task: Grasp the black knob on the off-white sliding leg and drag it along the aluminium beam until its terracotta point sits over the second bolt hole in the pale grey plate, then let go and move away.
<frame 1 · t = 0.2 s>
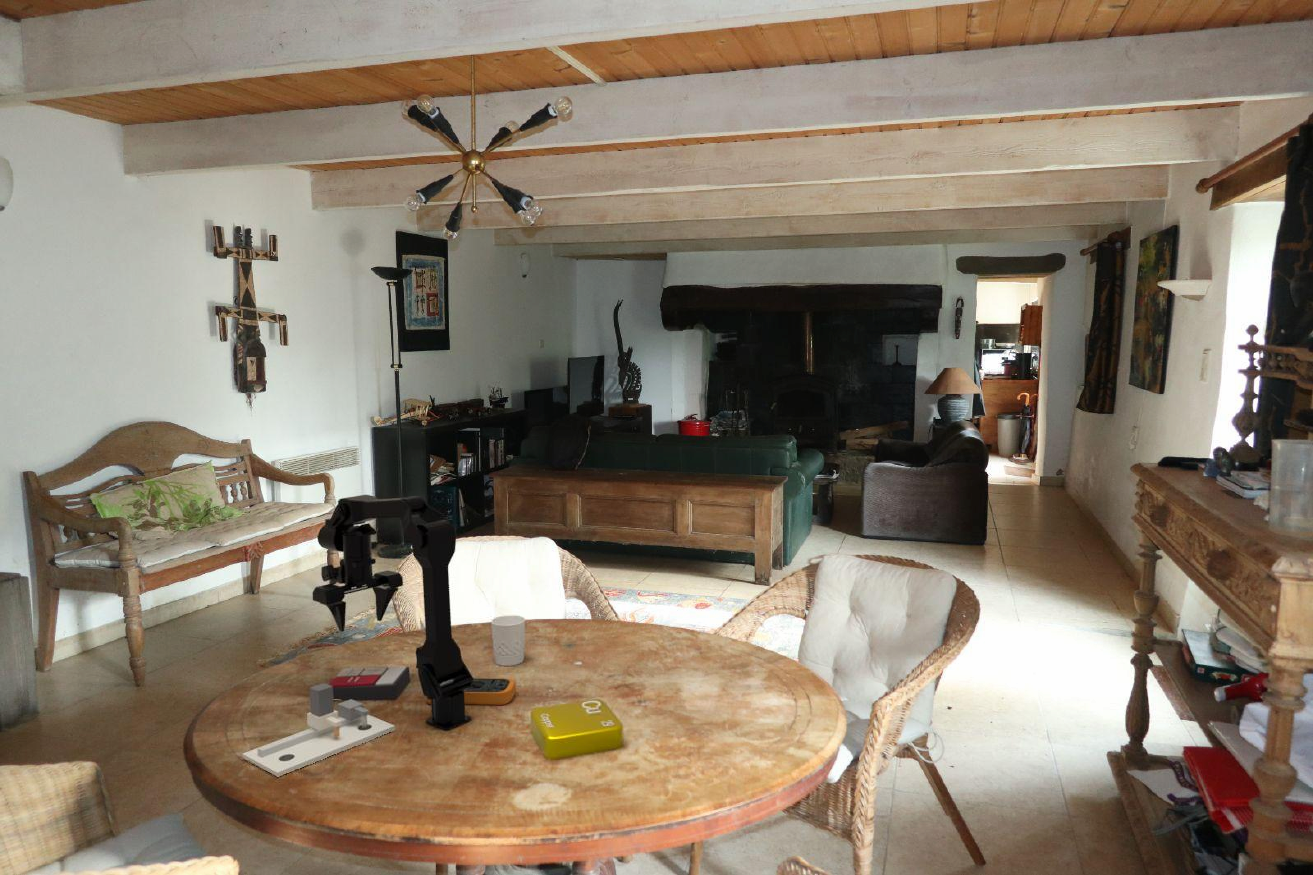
hand: (360, 625, 191), 14 cm above the table, tool pointing down, fingers open, 9 cm apart
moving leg: (327, 710, 168), point 6 cm above the table, slide at -2.0 cm
white cup: (509, 662, 210), on the table
element tile: (576, 740, 169), on the table
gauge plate: (321, 744, 167), on the table
multimeter: (471, 700, 189), on the table
calculator: (368, 693, 193), on the table
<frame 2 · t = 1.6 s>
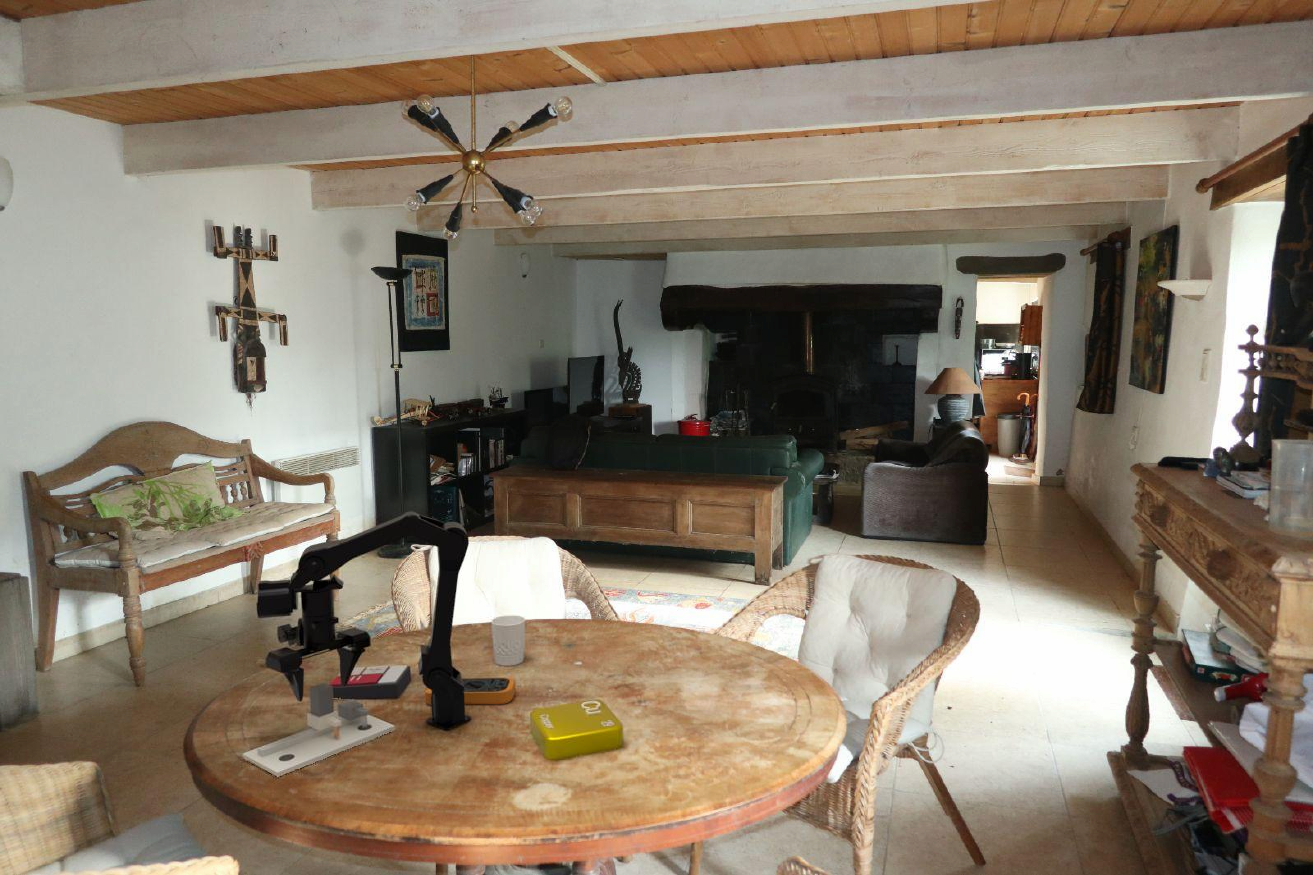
hand: (322, 693, 169), 9 cm above the table, tool pointing down, fingers open, 9 cm apart
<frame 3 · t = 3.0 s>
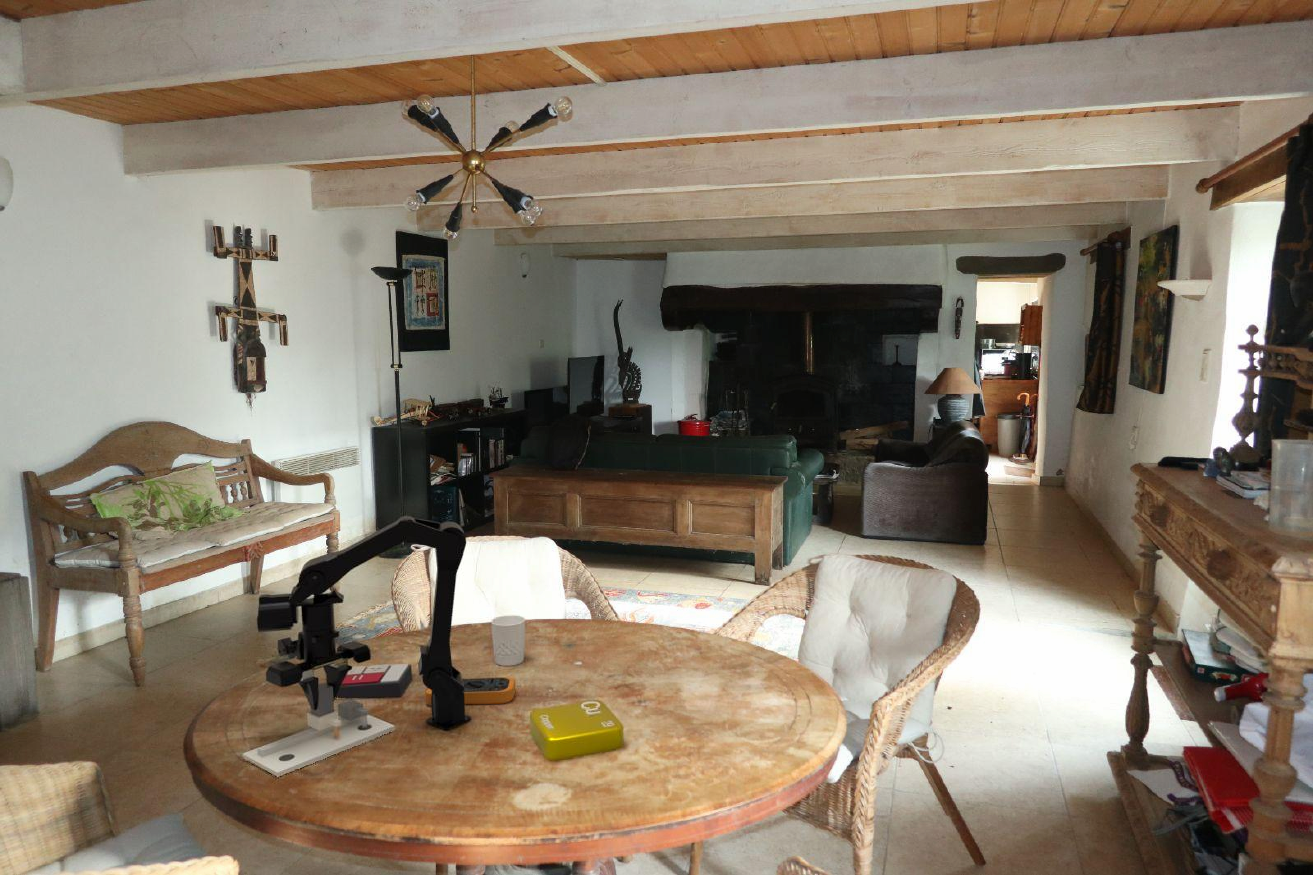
hand: (322, 706, 169), 6 cm above the table, tool pointing down, fingers closed on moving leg, 3 cm apart
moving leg: (327, 710, 168), point 6 cm above the table, slide at -2.0 cm, touching gripper
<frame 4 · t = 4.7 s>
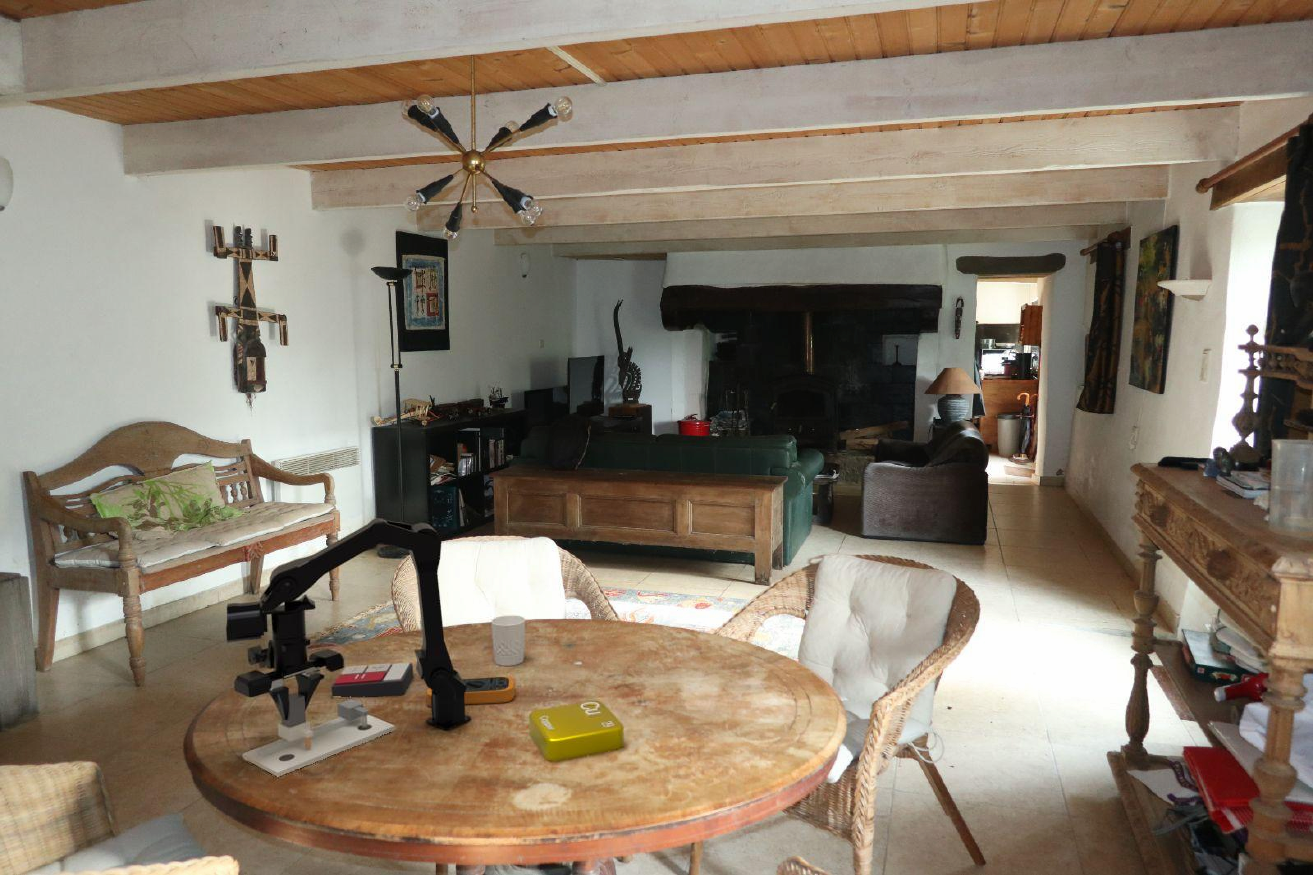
hand: (293, 716, 164), 6 cm above the table, tool pointing down, fingers closed on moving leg, 3 cm apart
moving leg: (298, 721, 164), point 6 cm above the table, slide at 3.8 cm, touching gripper
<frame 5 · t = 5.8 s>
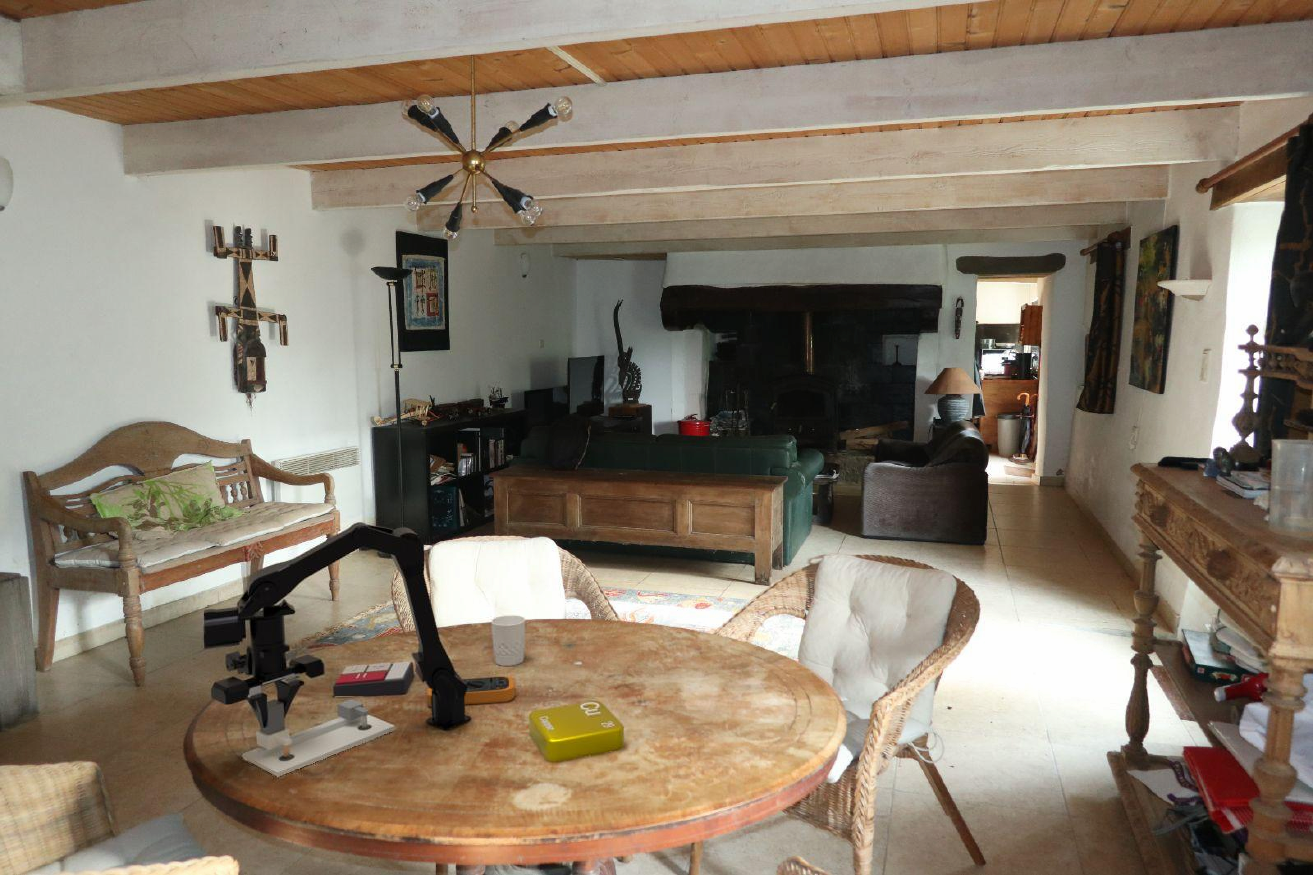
hand: (272, 724, 161), 6 cm above the table, tool pointing down, fingers closed on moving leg, 3 cm apart
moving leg: (277, 728, 160), point 6 cm above the table, slide at 7.9 cm, touching gripper
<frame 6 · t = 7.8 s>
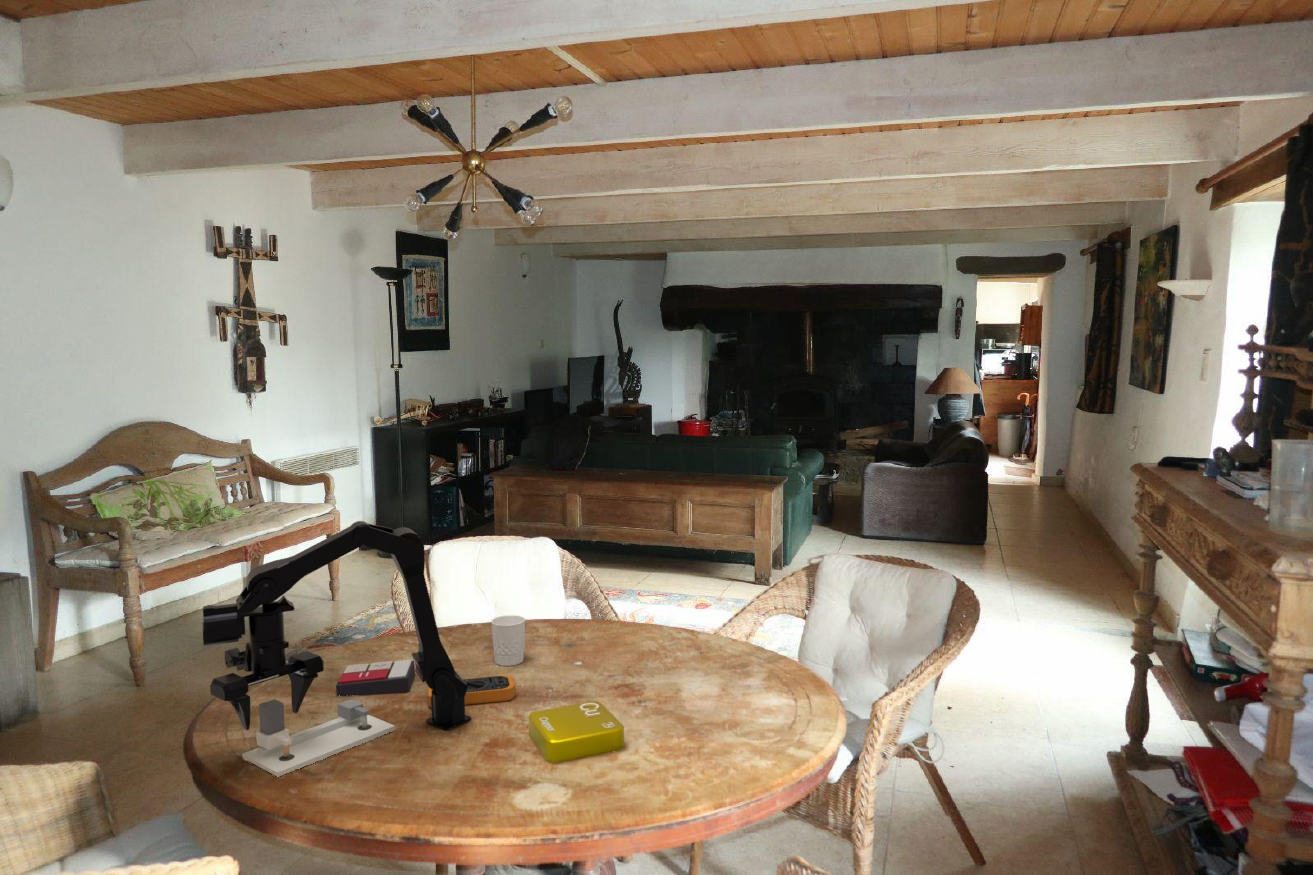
hand: (271, 720, 161), 7 cm above the table, tool pointing down, fingers open, 9 cm apart
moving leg: (277, 728, 160), point 6 cm above the table, slide at 8.0 cm
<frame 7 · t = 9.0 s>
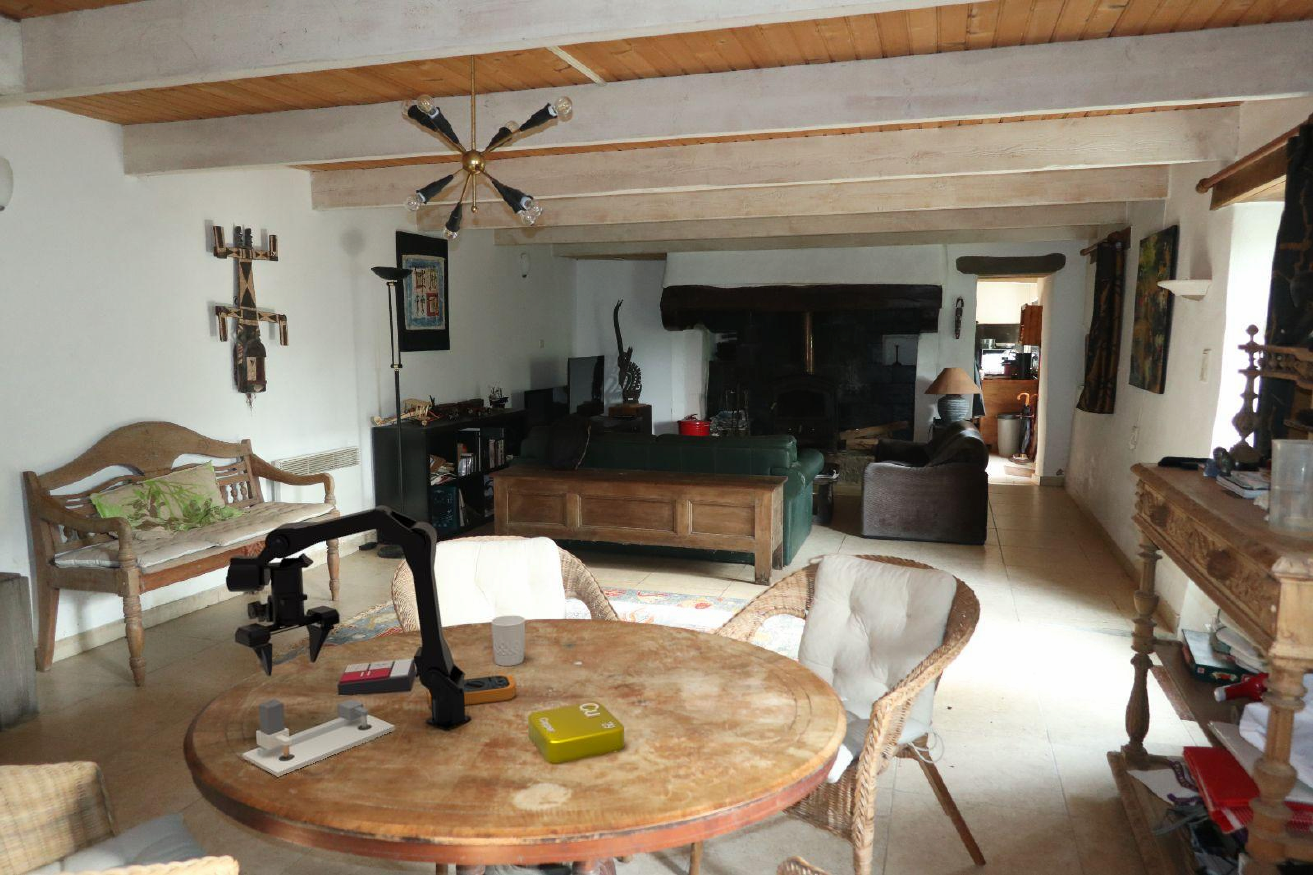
hand: (291, 668, 173), 12 cm above the table, tool pointing down, fingers open, 9 cm apart
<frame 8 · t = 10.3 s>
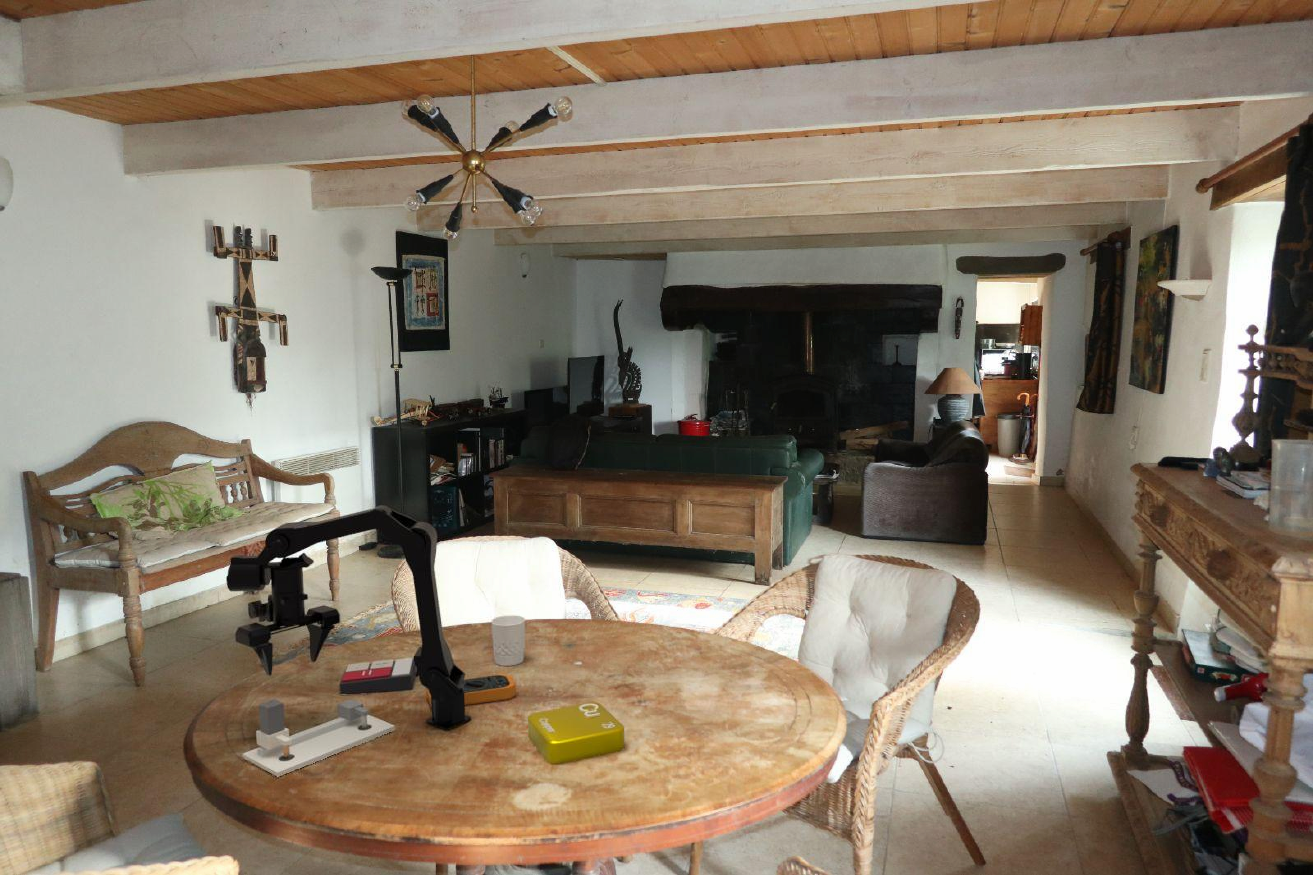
hand: (291, 668, 173), 12 cm above the table, tool pointing down, fingers open, 9 cm apart
at the end: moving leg slide at 8.0 cm; the gripper is holding nothing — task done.
